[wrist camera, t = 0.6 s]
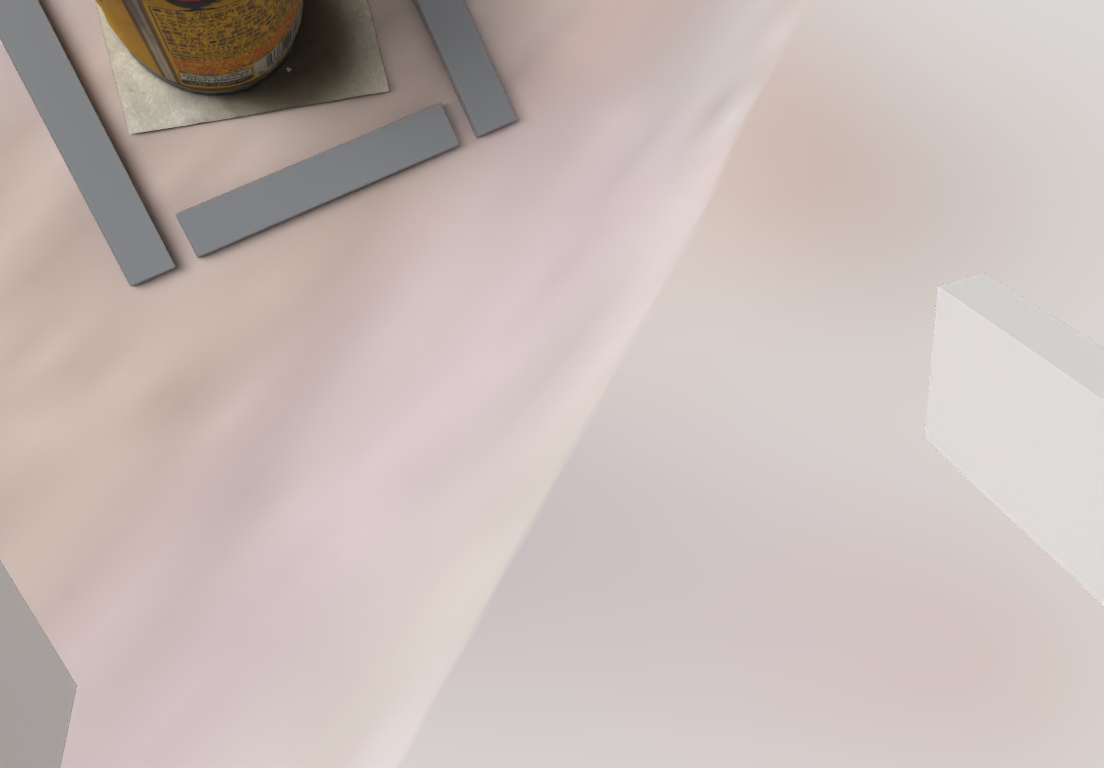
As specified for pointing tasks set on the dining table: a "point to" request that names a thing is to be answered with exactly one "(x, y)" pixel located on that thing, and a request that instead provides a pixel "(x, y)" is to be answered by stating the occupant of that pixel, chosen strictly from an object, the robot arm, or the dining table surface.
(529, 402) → the dining table surface
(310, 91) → the condiment
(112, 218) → the grey square frame
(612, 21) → the dining table surface
